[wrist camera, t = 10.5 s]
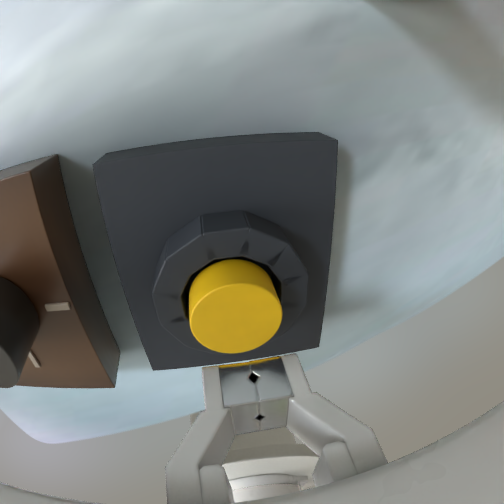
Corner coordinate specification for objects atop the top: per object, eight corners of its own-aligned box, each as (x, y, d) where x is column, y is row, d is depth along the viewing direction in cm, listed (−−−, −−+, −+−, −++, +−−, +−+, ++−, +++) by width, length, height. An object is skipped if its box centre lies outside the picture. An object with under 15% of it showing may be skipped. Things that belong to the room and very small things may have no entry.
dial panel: (121, 352, 19) (115, 390, 16) (18, 354, 17) (5, 386, 15) (57, 153, 12) (28, 171, 9) (-55, 191, 11) (-86, 213, 8)
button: (272, 320, 14) (281, 346, 13) (195, 330, 14) (197, 358, 12) (272, 253, 13) (283, 277, 11) (182, 264, 12) (182, 290, 11)
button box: (308, 323, 20) (329, 369, 17) (154, 344, 19) (151, 395, 15) (319, 132, 14) (358, 148, 11) (106, 153, 13) (77, 176, 9)
